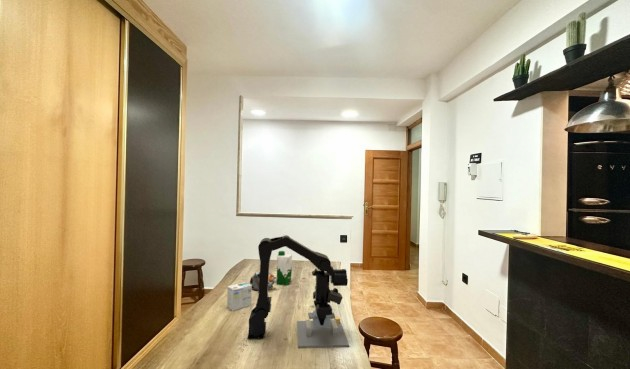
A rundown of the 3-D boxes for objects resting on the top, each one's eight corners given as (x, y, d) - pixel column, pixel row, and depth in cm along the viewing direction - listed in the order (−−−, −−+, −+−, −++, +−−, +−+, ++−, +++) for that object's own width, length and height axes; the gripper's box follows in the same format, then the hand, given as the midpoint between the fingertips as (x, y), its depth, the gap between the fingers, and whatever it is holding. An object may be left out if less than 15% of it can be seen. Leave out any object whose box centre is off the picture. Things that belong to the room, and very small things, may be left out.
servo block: (308, 327, 116) (309, 314, 116) (308, 322, 120) (308, 309, 120) (334, 327, 117) (335, 313, 117) (333, 322, 121) (333, 309, 121)
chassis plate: (298, 348, 108) (298, 336, 108) (296, 322, 127) (297, 313, 128) (349, 347, 109) (349, 335, 109) (340, 322, 129) (340, 312, 129)
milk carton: (279, 280, 184) (280, 249, 184) (292, 281, 182) (293, 250, 182) (274, 284, 175) (275, 252, 175) (288, 286, 173) (289, 254, 174)
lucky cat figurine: (273, 283, 177) (280, 267, 172) (271, 298, 166) (277, 280, 161) (250, 277, 175) (256, 260, 170) (246, 291, 164) (252, 273, 159)
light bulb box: (245, 301, 149) (245, 281, 149) (251, 305, 144) (252, 284, 144) (226, 307, 141) (227, 285, 142) (232, 311, 137) (233, 289, 137)
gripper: (345, 293, 110) (344, 333, 110) (337, 278, 129) (336, 312, 128) (317, 293, 109) (316, 334, 109) (313, 278, 128) (312, 312, 128)
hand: (321, 322), depth 118 cm, fingers closed on servo block, 4 cm apart
